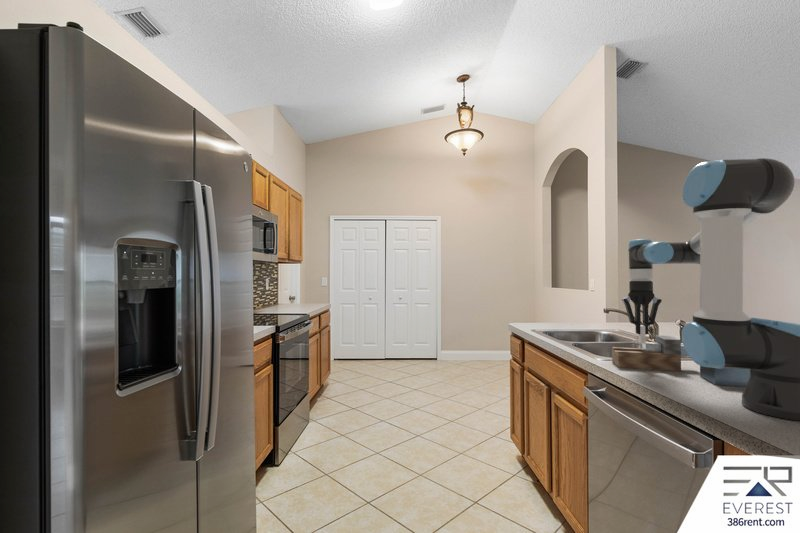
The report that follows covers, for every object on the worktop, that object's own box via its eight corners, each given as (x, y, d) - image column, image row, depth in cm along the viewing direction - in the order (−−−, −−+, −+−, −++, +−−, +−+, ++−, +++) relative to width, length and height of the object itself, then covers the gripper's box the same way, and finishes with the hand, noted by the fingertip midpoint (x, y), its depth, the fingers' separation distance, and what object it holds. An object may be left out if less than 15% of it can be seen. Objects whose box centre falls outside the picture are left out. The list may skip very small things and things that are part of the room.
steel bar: (695, 356, 136) (696, 346, 136) (645, 352, 140) (645, 343, 140) (691, 354, 140) (691, 345, 140) (642, 350, 144) (642, 341, 144)
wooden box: (670, 365, 143) (670, 335, 144) (681, 371, 135) (680, 340, 135) (612, 361, 149) (611, 333, 149) (618, 367, 140) (618, 337, 141)
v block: (753, 387, 116) (753, 363, 116) (714, 384, 118) (714, 361, 118) (735, 378, 125) (735, 357, 125) (700, 376, 128) (699, 355, 128)
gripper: (656, 280, 145) (658, 342, 144) (618, 280, 148) (619, 340, 147) (664, 280, 137) (666, 345, 137) (624, 280, 141) (625, 343, 140)
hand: (642, 342), depth 142 cm, fingers closed
